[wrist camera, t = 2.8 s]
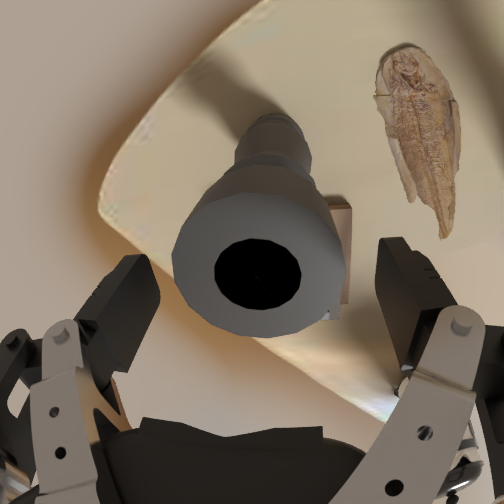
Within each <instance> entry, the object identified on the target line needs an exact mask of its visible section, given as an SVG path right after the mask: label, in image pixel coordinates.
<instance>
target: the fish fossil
mask: <svg viewBox="0 0 504 504" xmlns="http://www.w3.org/2000/svg"><path fill="white" fill-rule="evenodd" d="M375 83H376V91H375V93H376V94H377V95H374V96H373V98H374V99H375V101H376V103H377V105H378V107H377V110H378V112H379V113H380V114H381V115H382V117H383V118H384V120H385V125H386V126H385V129H386V135H387V137H388V144H389V146H390V148H391V152H392V154H393V156H394V158H395V163H396V166H397V169H398V171H399V174H400V179H401V181H402V183H403V186H404V190H405V192H406V195H407V199H408V201H409V202H410V203H412V202H414V200H415V198H416V195H418V196H419V197H420V199H421V201H422V202H423V203H424V204H427V205H429V206H430V207H431V208H432V209H434V211H435V213H436V216H437V219H438V222H439V238H440V240H441V239H444V238H447V237H448V235H449V234H450V232H451V231H452V228H453V223H454V213H455V183H454V175H456V173H457V172H458V170H459V158H460V152H461V128H460V115H459V110H458V108H459V107H458V103H457V101H455V100H454V98H453V95H452V92H451V90H450V87H449V83H448V82H447V80H446V79H445V77H444V76H443V75H442V73H441V72H440V71H439V69H438V68H437V67H436V66H435V64H434V63H433V61H432V60H431V58H430V56H428V55H427V54H426V52H425V51H423V50H421V49H419V48H417V47H412V46H410V47H406V48H405V47H403V48H401V49H398V50H396V51H395V52H393V53H391V54H389V55H388V56H386V57H385V58H384V60H383V62H382V63H381V64H380V66H379V69H378V72H377V76H376V82H375ZM387 126H388V127H387Z"/></svg>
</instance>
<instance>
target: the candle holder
mask: <svg viewBox="0 0 504 504" xmlns="http://www.w3.org/2000/svg"><path fill="white" fill-rule="evenodd" d="M311 161H312V157H311V153H310V150H309V147H308V144H307V142H306V141H305V139H304V135H303V132H302V130H301V128H300V127H299V126H298V125H297V124H296V122H295V121H294V120H293V119H291V118H289V117H287V116H285V115H280V114H270V115H266V116H263V117H261V118H259V119H258V120H257V121H256V122H255V123H254V124H252V126H251V127H250V128H249V130H248V132H247V133H246V134H245V135H244V136H243V137H242V138H241V140H240V142H239V144H238V146H237V148H236V150H235V163H234V165H233V166H232V167H231V168H230V169H229V170H227V171H226V172H225V173H224V175H223V176H222V177H221V178H220V179H219V180H218V181H217V182H216V183H215V184H213V185H212V186H211V187H210V188H209V189H208V190H207V191H206V192H205V193H204V195H203V196H202V198H201V199H200V201H199V202H198V203H197V205H196V206H195V208H194V209H193V211H192V212H191V214H190V215H189V217H188V218H187V220H186V221H185V223H184V224H183V226H182V227H181V230H180V233H179V235H178V238H177V241H176V243H175V246H174V249H173V252H172V254H171V255H172V264H173V273H174V281H175V283H176V285H177V287H178V289H179V290H180V292H181V294H182V296H183V297H184V299H185V301H186V302H187V304H188V306H189V307H190V308H192V309H193V310H194V311H195V312H197V313H198V314H199V315H200V316H201V317H203V318H204V319H205V320H206V321H207V322H209V323H210V324H212V325H214V326H216V327H219V328H221V329H223V330H226V331H229V332H231V333H233V334H236V335H240V336H249V337H259V338H272V337H278V336H283V335H288V334H293V333H297V332H299V331H301V330H303V329H304V328H306V327H308V326H310V325H312V324H314V323H315V322H317V321H319V320H321V319H322V318H323V317H324V315H325V314H326V313H327V312H328V311H329V310H330V308H331V307H332V306H333V305H334V304H335V302H336V301H337V300H338V299H339V297H340V294H341V290H342V286H343V283H344V279H345V275H346V272H347V270H346V265H345V260H344V255H343V251H342V246H341V242H340V238H339V235H338V232H337V229H336V226H335V223H334V221H333V218H332V215H331V212H330V209H329V206H328V203H327V201H326V200H325V199H324V198H323V196H322V195H321V194H320V193H319V191H318V190H317V189H316V186H315V182H314V180H313V178H312V177H311V176H310V175H309V174H310V170H311Z"/></svg>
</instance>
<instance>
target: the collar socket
mask: <svg viewBox="0 0 504 504" xmlns="http://www.w3.org/2000/svg"><path fill="white" fill-rule="evenodd" d="M328 206H329V209H330V212H331V215H332V218H333V221H334V223H335V226H336V229H337V232H338V235H339V238H340V242H341V246H342V251H343V255H344V260H345V265H346V270H347V272H346V275H345V279H344V283H343V286H342V290H341V294H340V297H339V299H338V300H337V301H336V302H335V304H334V305H333V306H332V307H331V308H330V310H329V311H328V312H327V313H326V314H325V315H324V317H323V318H322V319H321V320H333V319H339V309H340V304H348V293H349V279H350V262H351V239H352V208H351V206H350V204H337V205H328Z"/></svg>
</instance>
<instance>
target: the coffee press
mask: <svg viewBox="0 0 504 504" xmlns="http://www.w3.org/2000/svg"><path fill="white" fill-rule="evenodd" d="M404 372H405V373H406V375H407V377H406V378H405V379H404V380H403V381H402V383H401V384H400V387H399V389H396V390H395V391H394V395H396V396H397V397H399V398H401V396H402V394H403V392H404V390H405V388H406V386H407V384H408V382H409V380H410V378H411V376H412V374H413V372H414V370H413V369H407V370H404ZM398 393H399V396H398ZM483 465H484V464H483V461H482V460H481V459H480V457H479V453H478V444H477V440H476V438H475V436H474V431H473V427H472V424H471V421H470V419H469V422H468V425H467V428H466V430H465V433H464V436H463V438H462V441H461V444H460V446H459V449H458V451H457V453H456V456H455V458H454V460H453V463H452V465H451V467H450V469H449V471H448V473H447V476H446V478H445V480H444V482H443V484H442V486H441V488H440V490H439V491H438V493H437V495H436V497H435V499H439V498H442V497H445V496H448V499H447V501H446V504H456V503H457V502H458V500H459V498H458V496H457V495H454V494H455V493H456V492H458V491H460V490H462V489H464V488H466V487H467V486H469V485H471V484H472V483H473V482H474V481H476V480H477V478H478V477H479V476H480V474H481V471H482V467H483ZM435 499H434V500H435Z"/></svg>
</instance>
